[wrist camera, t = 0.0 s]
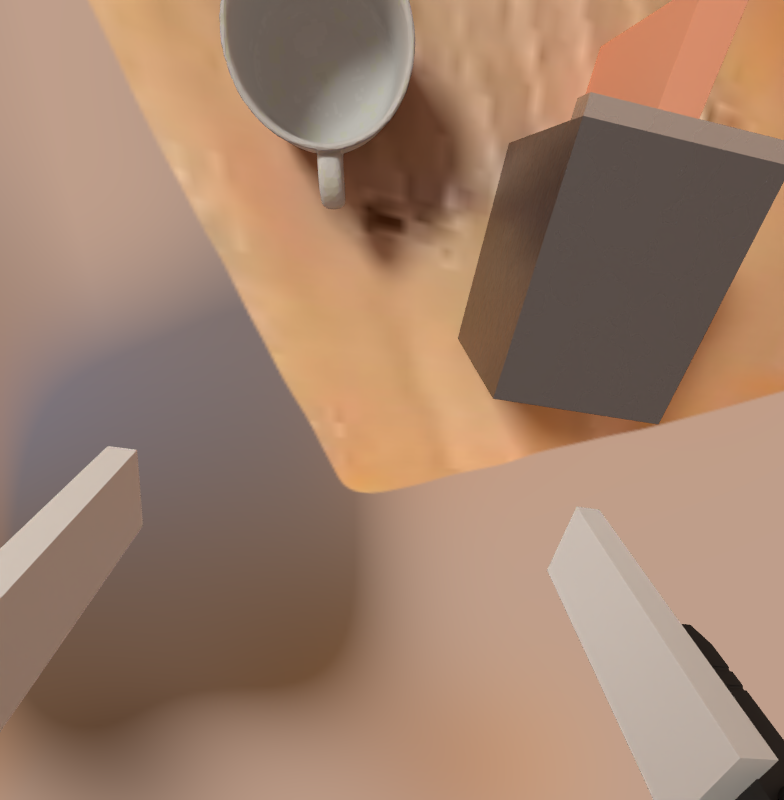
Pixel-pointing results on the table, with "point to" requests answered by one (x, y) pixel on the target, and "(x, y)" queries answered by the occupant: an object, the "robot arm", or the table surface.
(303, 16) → the teacup
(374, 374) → the table surface
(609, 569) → the robot arm
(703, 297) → the block
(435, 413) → the table surface
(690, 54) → the salmon orange rectangular slab
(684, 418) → the table surface
